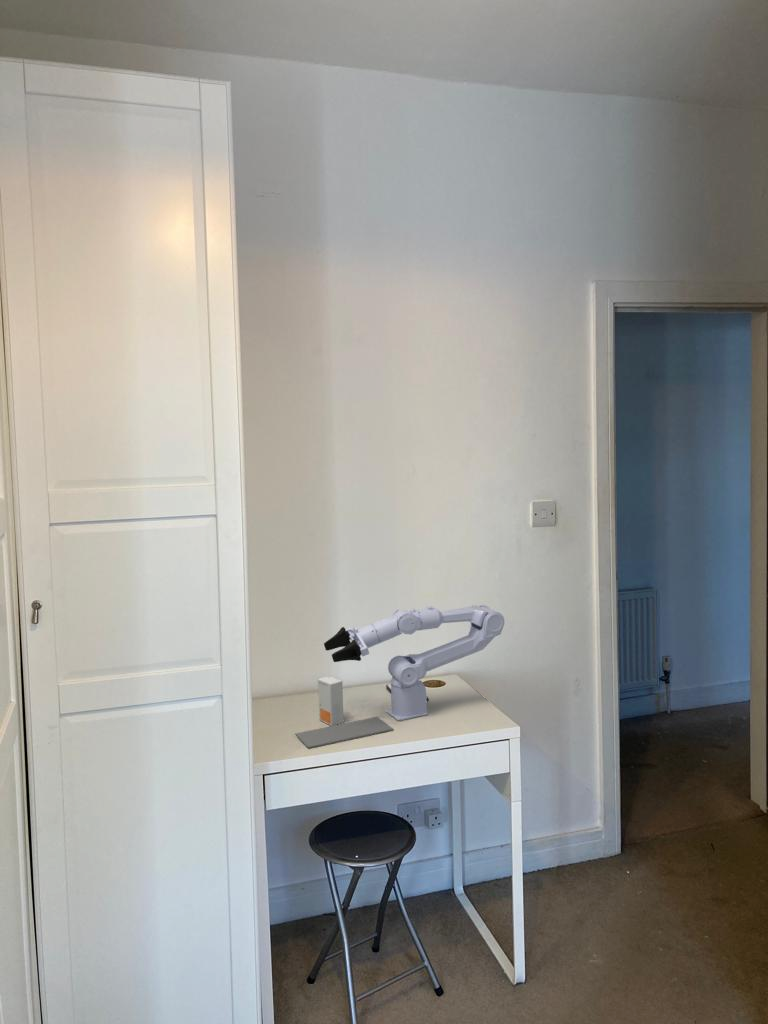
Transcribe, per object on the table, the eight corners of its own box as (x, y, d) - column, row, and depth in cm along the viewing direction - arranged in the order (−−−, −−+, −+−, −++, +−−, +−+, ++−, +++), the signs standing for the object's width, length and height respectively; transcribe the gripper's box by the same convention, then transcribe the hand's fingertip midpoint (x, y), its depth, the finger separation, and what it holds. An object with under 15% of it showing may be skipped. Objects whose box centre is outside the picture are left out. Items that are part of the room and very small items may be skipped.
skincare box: (318, 720, 215) (317, 678, 213) (331, 716, 217) (329, 675, 216) (331, 727, 210) (330, 684, 209) (344, 722, 213) (343, 680, 211)
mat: (377, 718, 215) (377, 716, 215) (393, 730, 206) (393, 728, 206) (295, 735, 205) (295, 733, 205) (308, 749, 196) (308, 747, 196)
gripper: (362, 611, 218) (317, 629, 215) (380, 631, 205) (332, 650, 202) (369, 633, 220) (324, 651, 217) (386, 654, 207) (339, 673, 204)
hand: (328, 652), depth 209 cm, fingers open, 7 cm apart
